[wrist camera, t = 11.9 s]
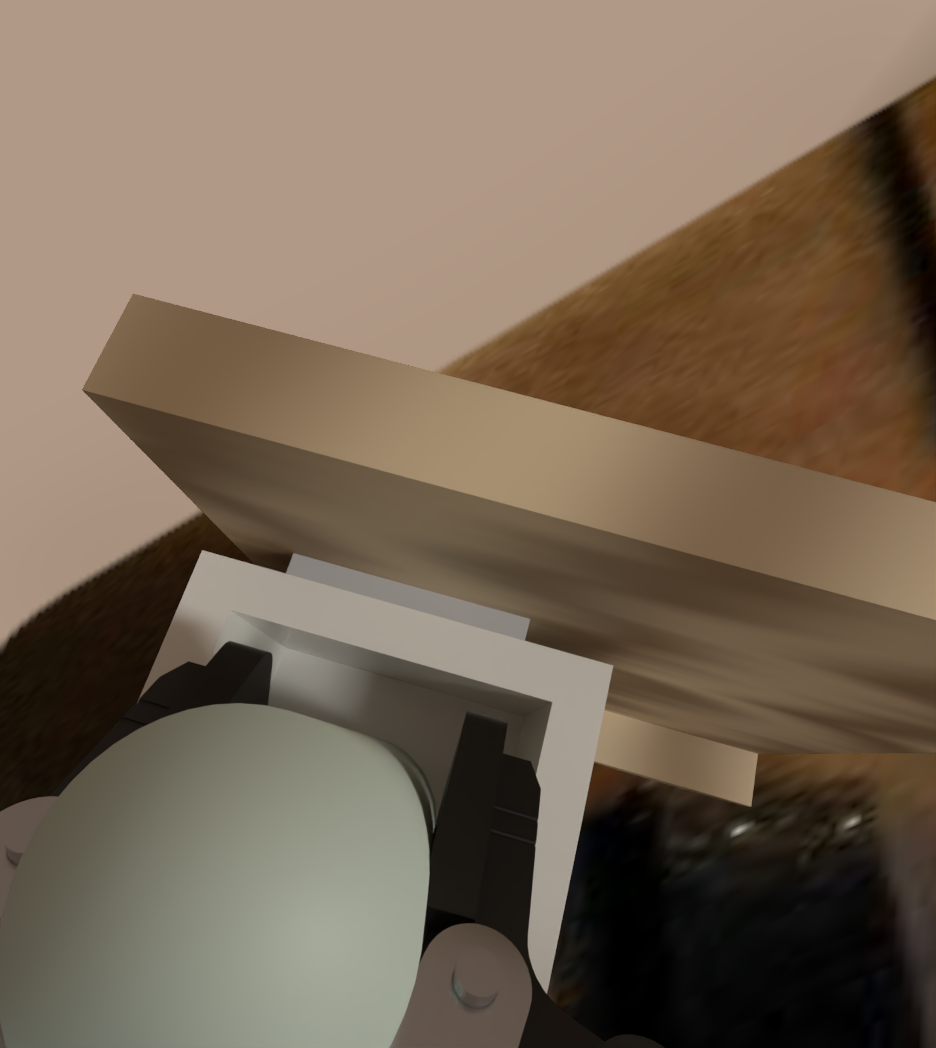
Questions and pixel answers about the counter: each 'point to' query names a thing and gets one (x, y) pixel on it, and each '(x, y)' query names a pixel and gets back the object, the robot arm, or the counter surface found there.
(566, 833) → the grey open box
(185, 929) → the pale green rounded cylinder
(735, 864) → the counter surface
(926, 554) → the oak board
